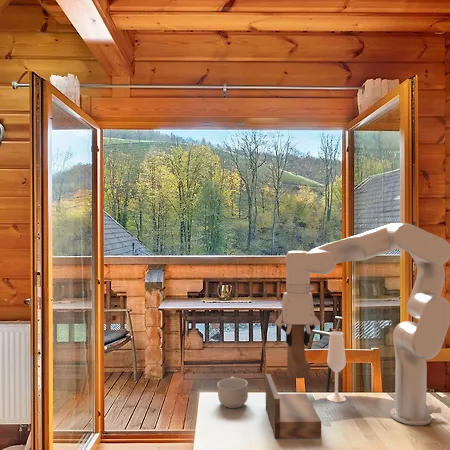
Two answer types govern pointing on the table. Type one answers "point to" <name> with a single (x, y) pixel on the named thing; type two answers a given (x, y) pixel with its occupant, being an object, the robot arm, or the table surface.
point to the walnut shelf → (291, 414)
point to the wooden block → (297, 353)
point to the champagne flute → (336, 361)
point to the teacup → (232, 392)
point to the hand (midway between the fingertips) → (297, 344)
